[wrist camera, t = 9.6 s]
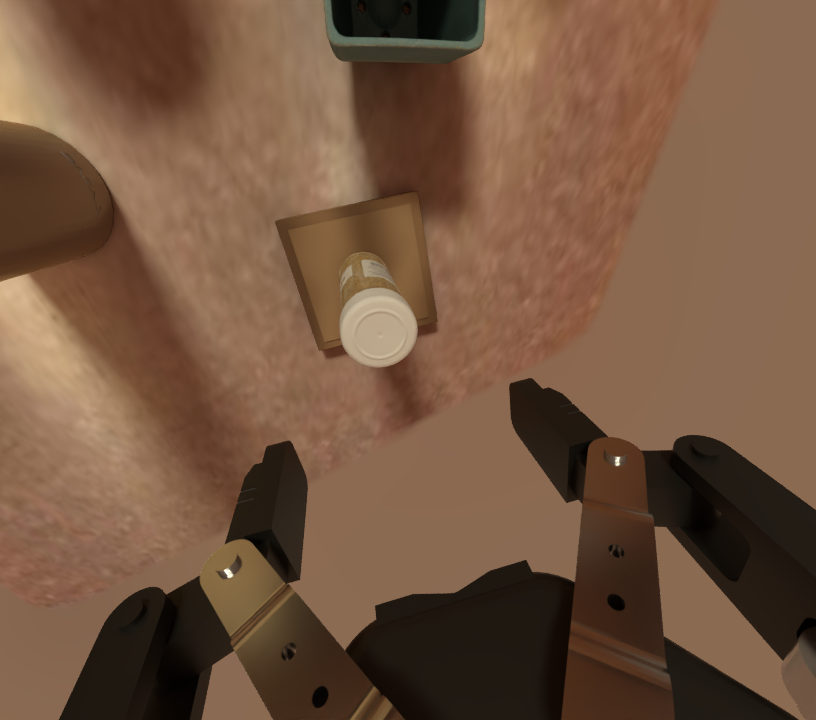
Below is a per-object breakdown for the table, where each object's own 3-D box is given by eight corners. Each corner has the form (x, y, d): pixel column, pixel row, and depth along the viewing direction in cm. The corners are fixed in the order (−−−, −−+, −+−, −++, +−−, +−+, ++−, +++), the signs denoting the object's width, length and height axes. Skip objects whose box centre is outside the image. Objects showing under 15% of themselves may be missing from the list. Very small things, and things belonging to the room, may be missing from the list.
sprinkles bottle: (328, 269, 31) (322, 326, 20) (371, 240, 31) (392, 280, 19) (358, 310, 34) (370, 383, 22) (399, 283, 33) (433, 343, 21)
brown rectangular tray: (319, 344, 36) (318, 351, 35) (277, 220, 30) (274, 222, 29) (434, 316, 37) (438, 322, 36) (414, 190, 31) (417, 191, 30)
